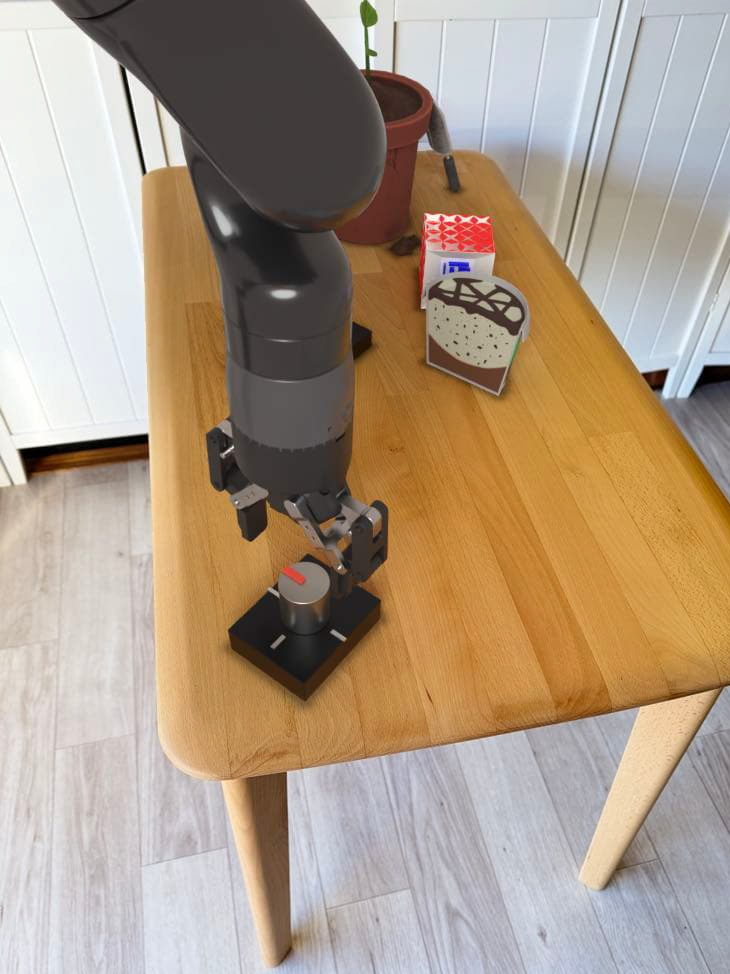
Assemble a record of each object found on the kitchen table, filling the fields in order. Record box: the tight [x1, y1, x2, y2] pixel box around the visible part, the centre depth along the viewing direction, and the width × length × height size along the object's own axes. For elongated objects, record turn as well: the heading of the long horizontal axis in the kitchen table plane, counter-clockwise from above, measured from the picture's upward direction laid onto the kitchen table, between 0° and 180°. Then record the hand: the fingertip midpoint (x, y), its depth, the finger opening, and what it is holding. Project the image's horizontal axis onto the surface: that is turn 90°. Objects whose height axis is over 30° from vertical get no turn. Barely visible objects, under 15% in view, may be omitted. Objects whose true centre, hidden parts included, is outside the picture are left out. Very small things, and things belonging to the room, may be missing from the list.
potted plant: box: [333, 0, 461, 256], centre depth 100 cm, size 18×22×25 cm
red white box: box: [418, 212, 496, 310], centre depth 98 cm, size 8×8×8 cm
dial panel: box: [227, 552, 382, 702], centre depth 68 cm, size 10×8×3 cm
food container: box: [421, 271, 531, 397], centre depth 88 cm, size 12×6×10 cm, turn 58°
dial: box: [277, 561, 330, 635], centre depth 65 cm, size 4×4×5 cm
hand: (298, 561), depth 62 cm, fingers open, 8 cm apart
